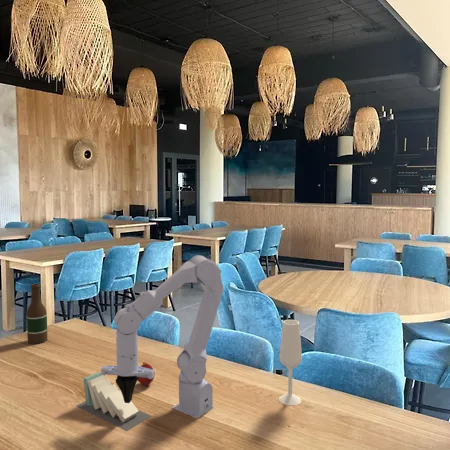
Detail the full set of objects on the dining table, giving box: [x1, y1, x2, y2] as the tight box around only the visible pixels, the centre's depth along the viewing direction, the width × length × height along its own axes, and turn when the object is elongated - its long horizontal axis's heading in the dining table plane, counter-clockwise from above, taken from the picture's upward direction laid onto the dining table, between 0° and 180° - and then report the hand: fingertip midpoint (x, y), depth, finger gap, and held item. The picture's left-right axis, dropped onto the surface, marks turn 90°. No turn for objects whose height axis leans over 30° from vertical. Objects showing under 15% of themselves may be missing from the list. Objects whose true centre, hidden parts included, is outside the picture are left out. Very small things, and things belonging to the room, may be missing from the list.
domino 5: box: [106, 389, 140, 422], centre depth 119 cm, size 2×5×8 cm
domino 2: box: [87, 375, 107, 409], centre depth 125 cm, size 2×5×8 cm, turn 144°
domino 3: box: [92, 378, 113, 413], centre depth 123 cm, size 2×5×8 cm
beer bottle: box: [26, 283, 48, 345], centre depth 178 cm, size 8×8×24 cm
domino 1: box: [83, 371, 102, 406], centre depth 127 cm, size 2×5×8 cm, turn 144°
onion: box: [137, 361, 156, 387], centre depth 138 cm, size 6×6×8 cm
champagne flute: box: [278, 319, 303, 406], centre depth 128 cm, size 7×7×24 cm
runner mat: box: [75, 400, 152, 432], centre depth 122 cm, size 22×9×1 cm, turn 54°
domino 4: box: [99, 383, 120, 418], centre depth 121 cm, size 2×5×8 cm
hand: (128, 401), depth 118 cm, fingers closed
